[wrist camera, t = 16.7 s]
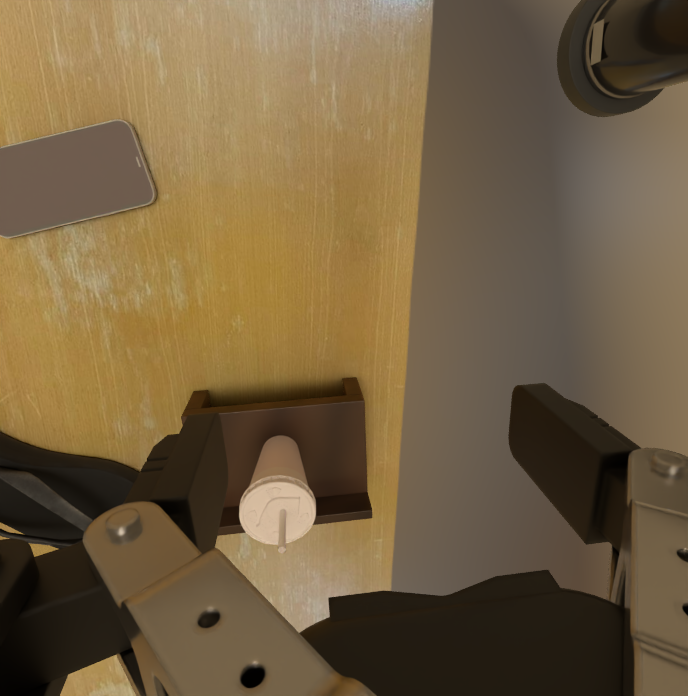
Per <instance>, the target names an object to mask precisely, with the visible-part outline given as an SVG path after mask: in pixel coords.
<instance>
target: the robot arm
mask: <svg viewBox="0 0 688 696" xmlns="http://www.w3.org/2000/svg"><path fill="white" fill-rule="evenodd" d="M582 63H583V68H584V72H585V74H586V77H587V79H588V81H589V82H590V84H591V85H592V87H593V88H594V89H595V90H596V91H597V92H599V93H600V94H601V95H603V96H605V97H608V98H611V99H619V100H621V99H628V98H632V97H636V96H639V95H641V94H644V93H646V92H649V91H653V90H657V89H661V88H665V87H668V86H672V85H676V84H679V83H683V82H686V81H688V0H605V1H604V2H603V3H602V4H601V5H600V6H599V7H598V9H597V10H596V11H595V13H594V14H593V16H592V18H591V20H590V22H589V24H588V26H587V29H586V32H585V35H584V39H583V45H582ZM509 445H510V450H511V452H512V455H513V457H514V458H515V459H516V461H517V462H518V463H519V464H520V466H521V467H522V468H523V469H524V470H525V472H526V473H527V474H528V475H529V477H530V478H531V479H532V480H533V481H534V482H535V484H536V485H537V486H538V487H539V489H540V490H541V491H542V492H543V493H544V495H545V496H546V497H547V498H548V499H549V500H550V502H551V503H552V504H553V505H554V506H555V508H556V509H557V510H558V511H559V513H560V514H561V515H562V516H563V517H564V519H565V520H566V521H567V522H568V523H569V525H570V526H571V527H572V528H573V529H574V530H575V532H576V533H577V534H578V535H579V537H580V538H581V539H582V540H583V541H584V543H585V544H594V543H602V542H610V543H611V544H612V548H611V554H610V559H609V573H608V588H607V600H606V599H603V598H600V597H598V596H595V595H591V594H587V593H584V592H580V591H576V590H571V589H565V588H560V587H559V585H558V584H557V583H556V581H555V580H554V578H553V576H552V575H551V574H550V572H549V571H548V570H542V571H534V572H526V573H518V574H511V575H503V576H496V577H493V578H491V579H488V580H485V581H483V582H480V583H478V584H475V585H473V586H470V587H468V588H465V589H463V590H460V591H458V592H455V593H453V594H450V595H446V596H435V595H426V594H415V593H404V592H403V593H402V592H393V591H378V592H370V593H362V594H354V595H346V596H338V597H331V598H329V612H330V617H329V618H326V619H324V620H322V621H319V622H317V623H315V624H314V625H312V626H310V627H308V628H306V629H305V630H303V631H302V632H300V633H298V632H297V631H296V629H295V628H294V627H293V626H292V625H291V624H290V623H289V622H288V621H287V620H286V619H285V618H284V617H283V616H282V615H281V614H280V613H279V612H278V611H277V610H276V609H275V607H274V606H273V605H272V604H271V603H270V602H269V601H268V600H267V599H266V598H265V597H264V596H263V595H262V594H261V593H260V592H259V591H258V590H257V589H256V588H255V587H254V585H253V584H252V583H251V582H250V581H249V580H248V579H247V578H246V577H245V576H244V575H243V574H242V573H241V572H240V571H239V570H238V569H237V568H236V567H235V566H234V565H233V564H232V562H231V561H230V560H229V559H228V558H227V557H226V556H225V555H224V554H223V553H222V552H221V551H220V550H218V549H217V548H215V544H216V539H217V534H218V530H219V525H220V520H221V516H222V511H223V507H224V502H225V497H226V493H227V488H228V464H227V457H226V450H225V444H224V437H223V431H222V424H221V419H220V415H219V413H218V412H210V413H199V414H189V415H188V416H187V418H186V420H185V422H184V425H183V427H182V429H181V431H180V433H179V434H173V435H167V436H166V437H165V438H164V439H162V440H161V441H160V442H159V443H158V444H156V445H155V446H154V447H153V449H152V451H151V453H150V455H149V456H148V458H147V462H145V464H144V466H143V468H142V469H141V472H140V473H139V475H138V477H137V479H136V481H135V482H134V484H133V486H132V488H131V490H130V492H129V494H128V495H127V497H126V499H125V501H124V503H123V505H120V506H117V507H115V508H112V509H110V510H108V511H106V512H105V513H103V514H102V515H100V516H99V517H97V518H96V519H95V520H94V521H93V522H92V523H91V524H90V525H89V526H88V527H87V529H86V531H85V532H84V535H83V541H81V542H79V543H77V544H74V545H71V546H68V547H65V548H62V549H58V550H55V551H52V552H49V553H46V554H43V555H40V556H36V557H34V555H33V552H32V549H31V547H30V545H29V544H28V543H27V542H26V541H24V540H20V539H4V540H0V696H60V694H61V691H62V689H63V686H64V684H65V681H66V679H67V676H68V674H70V673H73V672H75V671H77V670H80V669H82V668H85V667H87V666H89V665H92V664H94V663H97V662H99V661H101V660H104V659H106V658H109V657H111V656H113V655H117V658H118V660H119V662H120V664H121V666H122V668H123V670H124V672H125V674H126V676H127V678H128V680H129V682H130V684H131V686H132V688H133V690H134V692H135V694H136V696H688V457H686V456H684V455H682V454H679V453H676V452H673V451H669V450H664V449H657V448H640V447H639V446H638V445H636V444H635V443H633V442H632V441H631V440H630V439H628V438H627V437H625V436H624V435H623V434H621V433H620V432H619V431H617V430H616V429H614V428H613V427H612V426H609V424H608V423H606V422H605V421H604V420H602V419H601V418H598V416H597V415H596V414H594V413H593V412H591V411H590V410H589V409H587V408H586V407H585V406H583V405H580V404H578V403H575V402H573V401H571V400H568V399H566V398H564V397H563V396H561V395H560V394H559V393H557V392H556V391H555V390H553V389H552V388H551V387H550V386H548V385H547V384H545V383H539V384H528V385H517V386H516V387H515V388H514V390H513V393H512V402H511V414H510V425H509Z"/></svg>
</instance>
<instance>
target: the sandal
mask: <svg viewBox="0 0 688 696" xmlns="http://www.w3.org/2000/svg"><path fill="white" fill-rule="evenodd" d="M138 475H139V473H138V472H137V471H135V470H133V469H131V468H129V467H127V466H124V465H122V464H119V463H115V462H112V461H108V460H103V459H97V458H88V457H82V456H76V455H69V454H62V453H57V452H52V451H47V450H44V449H40V448H36V447H33V446H30V445H27V444H25V443H22V442H20V441H17V440H15V439H13V438H11V437H9V436H6V435H4V434H2V433H0V522H1V523H3V524H5V525H7V526H9V527H11V528H13V529H15V530H17V531H19V532H21V533H23V534H25V535H23V534H16V533H10V532H6V531H4V530H2V529H0V536H2V537H6V538H10V539H20V540H24V541H26V542H27V543H32V544H42V545H50V546H53V547H55V548H59V549H62V548H65V547H68V546H71V545H74V544H77V543H79V542H81V541H83V535H84V532H85V531H86V529H87V527H88V526H89V525H90V524H91V523H92V522H93V521H94V520H95V519H96V518H97V517H99V516H100V515H102V514H103V513H105V512H106V511H108V510H110V509H112V508H115V507H117V506H120V505H123V503H124V501H125V499H126V497H127V495H128V494H129V492H130V490H131V488H132V486H133V484H134V482H135V481H136V479H137V477H138Z"/></svg>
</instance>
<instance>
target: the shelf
mask: <svg viewBox="0 0 688 696" xmlns="http://www.w3.org/2000/svg"><path fill="white" fill-rule="evenodd" d="M342 381H343V396H334V397H323V398H312V399H300V400H289V401H278V402H267V403H255V404H244V405H233V406H222V407H211V405H210V398H209V392H208V390H205V391H194V392H193V394H192V396H191V398H190V400H189V402H188V404H187V406H186V408H185V410H184V412H183V414H182V416H181V419H182V424H183V425H184V422H185V420H186V418H187V416H188V415H189V414H199V413H210V412H218V413H219V415H220V419H221V424H222V431H223V437H224V444H225V450H226V457H227V464H228V488H227V493H226V497H225V502H224V507H223V511H222V516H221V520H220V525H219V530H218V534H217V536H218V535H227V534H236V533H245V530H244V529H243V527H242V525H241V523H240V519H239V506H240V501H241V498H242V496H243V494H244V492H245V491H246V490H247V488H248V487H249V485H250V483H251V480H252V477H253V474H254V471H255V468H256V465H257V463H258V460H259V457H260V454H261V451H262V448H263V446H264V444H265V442H266V441H267V440H269V439H270V438H272V437H274V436H287V437H290V438H291V439H293V440H294V441H295V442H296V444H297V446H298V449H299V453H300V457H301V461H302V464H303V468H304V472H305V476H306V480H307V483H308V487H309V488H310V490H311V491H312V492H313V495H314V497H315V500H316V516H315V520H314V523H313V525H315V524H324V523H333V522H342V521H351V520H360V519H368V518H372V508H371V504H370V500H369V496H368V492H367V463H366V434H365V405H364V398H363V395H362V392H361V389H360V387H359V384H358V381H357V378H345V379H342Z"/></svg>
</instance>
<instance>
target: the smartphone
mask: <svg viewBox="0 0 688 696" xmlns="http://www.w3.org/2000/svg"><path fill="white" fill-rule="evenodd" d="M156 196H157V193H156V188H155V186H154V183H153V180H152V177H151V174H150V171H149V169H148V166H147V163H146V160H145V157H144V154H143V152H142V149H141V146H140V143H139V140H138V137H137V135H136V132H135V130H134V128H133V127H132V125H131V124H129V123H128V122H126V121H123V120H120V119H116V120H111V121H107V122H103V123H98V124H94V125H90V126H86V127H82V128H77V129H73V130H69V131H65V132H61V133H57V134H52V135H48V136H44V137H40V138H36V139H31V140H27V141H23V142H19V143H15V144H11V145H6V146H2V147H0V236H1V237H4V238H13V237H19V236H23V235H27V234H31V233H35V232H39V231H43V230H47V229H52V228H56V227H60V226H64V225H68V224H72V223H76V222H80V221H85V220H89V219H93V218H97V217H103V216H107V215H111V214H115V213H119V212H122V211H126V210H130V209H134V208H138V207H142V206H146V205H150V204H152V203H153V202H154V201H155V199H156Z"/></svg>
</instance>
